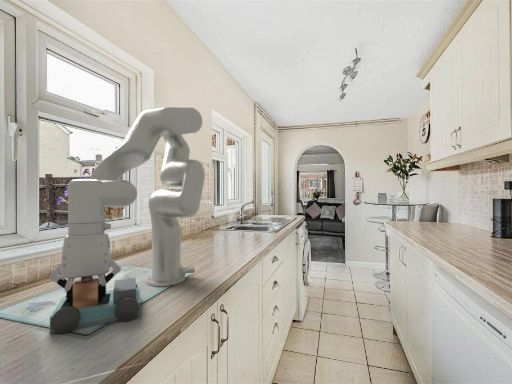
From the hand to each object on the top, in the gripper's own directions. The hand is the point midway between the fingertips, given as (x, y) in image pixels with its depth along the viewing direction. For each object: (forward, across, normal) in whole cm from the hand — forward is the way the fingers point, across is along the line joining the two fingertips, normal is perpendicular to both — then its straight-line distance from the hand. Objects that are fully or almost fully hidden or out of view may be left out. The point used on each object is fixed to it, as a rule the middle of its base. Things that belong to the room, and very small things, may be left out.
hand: (86, 301), depth 65 cm
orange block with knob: (+2, 0, 0) cm, 2 cm away
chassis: (+3, -3, 0) cm, 5 cm away
